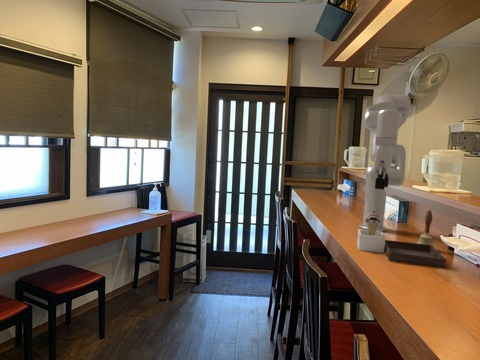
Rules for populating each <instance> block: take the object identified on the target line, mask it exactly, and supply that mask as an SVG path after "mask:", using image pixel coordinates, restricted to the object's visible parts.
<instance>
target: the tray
mask: <svg viewBox="0 0 480 360" xmlns="http://www.w3.org/2000/svg"><path fill="white" fill-rule="evenodd" d="M433 246H434V245H433ZM433 246H432V245H427V244H418V242H416V243H415V242H407V241H400V240H397V241H396V240H391V239H385V248H384V254H385V256H386V257H387V260H388V261H389V262H396V263H403V264H411V265H418V266H419V265H420V266H426V267H435V268H442V269H445V268H446V264H447V259H446V258H445V257H444V256H443V255H442V254H441V253H440V252H439V251H438V250H437V248H434V247H435V246H434V247H433Z"/></svg>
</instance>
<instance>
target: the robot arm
mask: <svg viewBox="0 0 480 360" xmlns="http://www.w3.org/2000/svg"><path fill="white" fill-rule="evenodd" d="M411 105H412V103H411V98H410V96H408V95H407V94H391V93H390V94H383V95H380V96H378V97H377V99H376V100H375V104H372V105H369V106H368V107H366V109H365V111H364V114H363V127H364V128H365V129H366V130H369V131H370V133H371V139H370V140H371V141H370V154H369V155H370V160H371V162H374V164H371V165H369V166H367V168H366V169H365V193H364V194H365V196H364V197H365V199H364V208H363V218H362V223H360V224H359V225H358V227H359V228H360V229H361V230H368V227H367V222H366V221H365V219H366V218H367V215H368V214H369V213H372V212H373V211H374V212H375V213H376V214H377V215H378V216H379V220H380V223H379V224H378V226H377V229H376V231H379V232H386V231H387V227H386V226H385V225H384V220H385V212H386V203H387V192H386V191H385V188H389V187H388V186H392V187H393V186H394V187H401V186H402V185H403V184H404V183H405V176H406V174H405V173H406V159H407V158H406V157H407V152H406V148H405V146H404V145H402V144H399V143H398V135H399V129H400V128H401V127H402V126H403V124H405V123H406V122H407V120H408V116H409V113H410V109H411ZM392 164H393V165H392Z"/></svg>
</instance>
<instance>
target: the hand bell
mask: <svg viewBox="0 0 480 360" xmlns="http://www.w3.org/2000/svg"><path fill="white" fill-rule="evenodd" d="M432 222H433V214H432V210H429V209H428V210H427V212H426V214H425V217H424V225H425V228H424V231H423V232H424V233H421V234H420V235H419V238H418V241H417V243H418V244H427V245H432V246H433V247H434V248H435V246H434V241H433V239H434V238H433V236H431V234H430V229H431V228H430V227H431V224H432ZM435 249H436V248H435Z"/></svg>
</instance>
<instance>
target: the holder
mask: <svg viewBox="0 0 480 360" xmlns="http://www.w3.org/2000/svg"><path fill="white" fill-rule="evenodd" d="M385 240H386V236H385V235H384V232H383V231H381V232H379V231H376V232H375V235H374V236H369V235H368V230H365V229H361V228H360V229H357V240H356V244H357V249H358V251H365V252H372V253H373V252H374V253H380V254H381V253H383V254H385V252H384V248H385Z"/></svg>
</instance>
